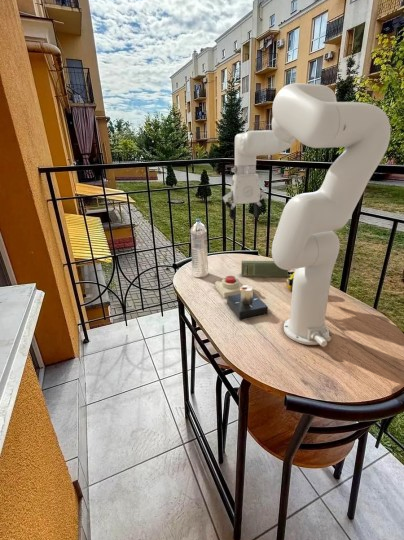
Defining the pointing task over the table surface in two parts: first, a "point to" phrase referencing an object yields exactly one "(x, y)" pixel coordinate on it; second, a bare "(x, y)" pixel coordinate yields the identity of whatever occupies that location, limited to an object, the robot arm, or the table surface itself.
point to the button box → (228, 287)
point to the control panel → (247, 307)
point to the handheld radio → (263, 269)
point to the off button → (230, 279)
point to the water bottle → (199, 249)
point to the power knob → (246, 294)
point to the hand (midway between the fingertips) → (244, 217)
